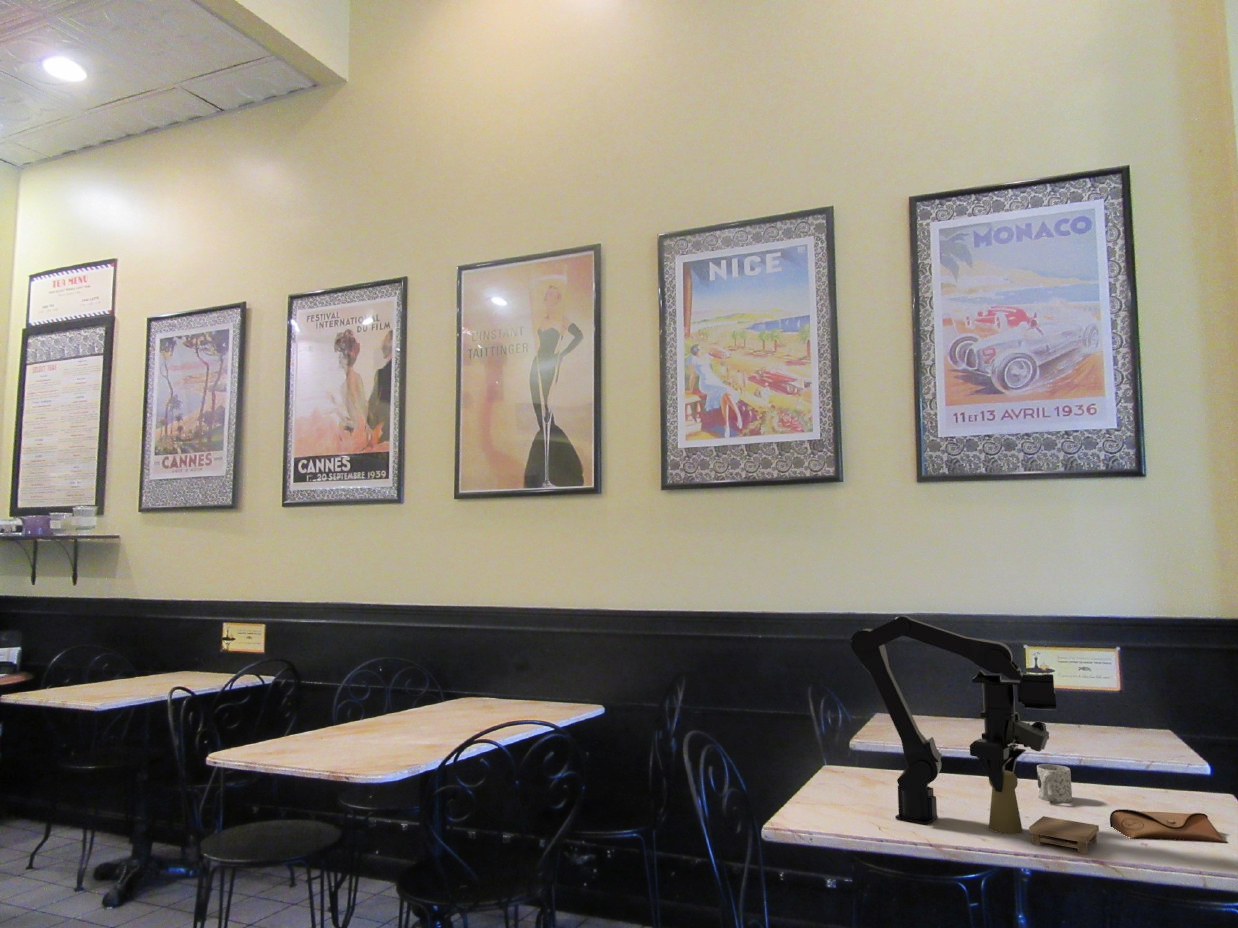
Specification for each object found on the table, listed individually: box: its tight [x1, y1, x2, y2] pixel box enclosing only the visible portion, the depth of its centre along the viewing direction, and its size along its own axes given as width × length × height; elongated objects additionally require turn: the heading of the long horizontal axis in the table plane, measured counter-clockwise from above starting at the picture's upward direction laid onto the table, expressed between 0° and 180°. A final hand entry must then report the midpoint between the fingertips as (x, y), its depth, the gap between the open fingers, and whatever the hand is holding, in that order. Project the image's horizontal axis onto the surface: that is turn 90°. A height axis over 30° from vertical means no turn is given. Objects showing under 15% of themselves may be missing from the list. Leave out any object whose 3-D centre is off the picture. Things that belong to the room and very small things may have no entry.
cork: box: [988, 770, 1024, 835], centre depth 169 cm, size 6×6×11 cm
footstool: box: [1028, 815, 1100, 855], centre depth 160 cm, size 10×10×3 cm
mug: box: [1036, 763, 1073, 804], centre depth 191 cm, size 10×7×7 cm, turn 136°
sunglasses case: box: [1109, 808, 1229, 844], centre depth 165 cm, size 18×7×7 cm
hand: (1003, 788), depth 169 cm, fingers closed on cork, 5 cm apart
